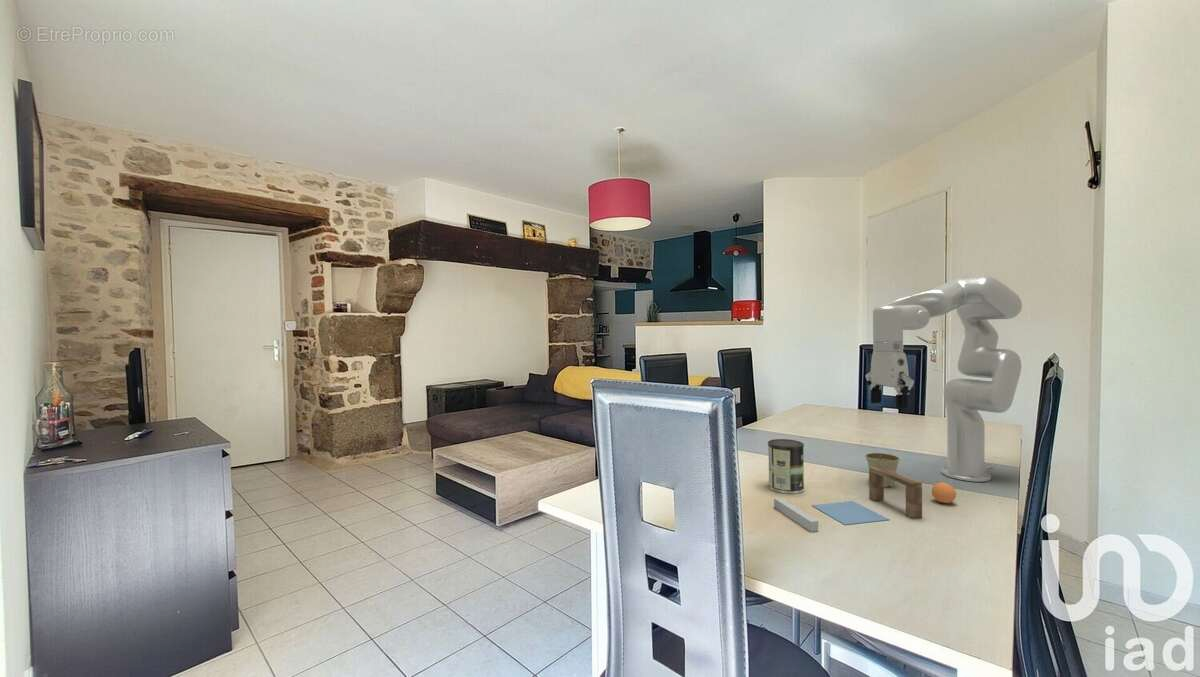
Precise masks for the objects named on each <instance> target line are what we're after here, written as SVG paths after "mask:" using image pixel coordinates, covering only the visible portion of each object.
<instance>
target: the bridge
mask: <svg viewBox="0 0 1200 677" xmlns="http://www.w3.org/2000/svg"><path fill="white" fill-rule="evenodd" d="M884 477H885V478H888V479H890V480H893V481H895V483H898V484H901V485H903V486H905V517H907V518H909V519H911V520H915V519H923V482H922V481H919V480H916V479H914V478H911V477H908V476H906V475H903V474H901V473H898V472H896V473H895V472H893V471H890V470H887V469H884V468H882V467H879V466H874V467H869V466H868V490H869V492H868V497H869V500H871V501H873V502H882V501H884V500H885V487H884Z"/></svg>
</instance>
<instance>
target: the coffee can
mask: <svg viewBox="0 0 1200 677" xmlns="http://www.w3.org/2000/svg"><path fill="white" fill-rule="evenodd" d="M767 445H768V448H767V449H768V488H769V489H770V490H772V491H774V492H777V493H780V492H781V494H789V495H790V494H792V495H794V494H795V495H796V494H801V493H803V492H804V491H805V477H804V476H805V475H804V474H805V472H804V466H805V465H804V458H805V457H804V456H805V455H804V447H805V444H804V443H803V442H802V441H799V440H795V439H794V440H793V439H789V438H787V439H786V438H776V439H774V438H773V439H770V440H768V441H767Z"/></svg>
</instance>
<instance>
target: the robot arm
mask: <svg viewBox="0 0 1200 677" xmlns="http://www.w3.org/2000/svg"><path fill="white" fill-rule="evenodd" d="M1022 309H1023V303H1022V299H1021V297H1020V296H1019V295H1018V294H1017V293H1016V292H1015V291H1014V290H1012V289H1011V288H1010V287H1009V286H1007V285H1006V284H1005V283H1003V282H1001V281H1000V280H998V279H996V278H994V277H992V276H988V275H979V276H971V277H960V278H954V279H952V280H950V281H947V282H945V283H942V284H941V285H938V286H936V287H935V288H931V289H930V290H927V291H923V292H919V293H916V294H912V295H909V296H905V297H901V298H899V299H896V300H893V301H890V302H889V303H886V304H884V305H882V306H876V307H874V308H873V310H872V339H873V340H872V342H873V343H872V347H873V348H872V349H873V350H872V353H871V354H872V355H871V361H870V362H871V363H870V371H869V372H867V373H866V374H865V376H864V377H865V379H866V384H867V385H868V388H869V390H870V402H871V404H881V403H882V401H883V400H882V396H883V395H882V389H881V388H882V387H889V388H894V390H895V392H896V393H897V394H895V408H896V409H899V410H900V409H907V408H908V395H910V392H911V391H912V390H913V386H914V384H915V380H914V379H912V378H911V377H910V375H909V365H908V364H909V363H908V360H907V359H908V358H907V355H906V352H904V348H905V346H904V331H917V330H921V329H923V328H925V327H926V326H927V325H928V324H929V322H930V319H931V318H934V317H935V318H937V317H940V316H944V315H946V314H948V313H950V312H952V311H954V310H955V311H956V313H957V315H958V317H959V318H960V321H961V323H962V325H963V327H964V331H965V335H964V336H965V337H964V340H963V343H962V345H961V346H962V347H961V351H960V354H959V356H958V361H957V370H958V372H959V373H960V374H962V375H964V376H967V377H973V378H981V379H982V378H983V379H991V381H990V380H980V379H972V378H971V379H970V378H954V379H951V380H948V382H946V383H945V385H944V387H943V399H944V401H945V407H946V414H947V418H946V419H947V425H946V426H947V427H946V429H947V430H946V431H947V433H946V434H947V440H946V441H947V444H946V445H947V448H946V449H947V450H946V452H947V454H946V455H947V457H946V458H947V464H946V465H947V466H945V467H943V468H941V473H942V475H944V476H946V477H948V478H951V479H956V480H961V481H966V482H974V483H975V482H976V483H977V482H978V483H983V482H990V481H991V479H992V476H991V474H990V473H988V470H991V471H992V470H996V468H997V466H996V464H995V463H992V462H991V463H987V462H985V456H986V455H985V450H986V449H985V443H986V442H985V440H986V439H985V438H986V437H985V436H986V434H985V430H986V428H985V426H986V425H985V420H984V419H983V417H982V415H981V414H980V412H988V413H995V414H996V413H997V414H998V413H999V414H1002V413H1005V412H1007V411H1008V410H1009V409H1010V408H1011V406H1012V404H1013V401H1014V398H1015V394H1016V390H1017V387H1018V384H1019V380H1020V376H1021V373H1022V372H1021V371H1022V361H1021V357H1020V356H1019V354H1018V353H1017V352H1016V351H1014V350H1011V349H1006V348H997V345H998V342H999V335H998V334H999V333H998V332H997V330H996V329H995V327H994V326H993V325H992V324H991V323H990V322H989V321H988V320H1010V319H1014V318H1016V317H1017V316H1019V314H1020V313H1021V312H1022ZM979 411H980V412H979Z"/></svg>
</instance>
